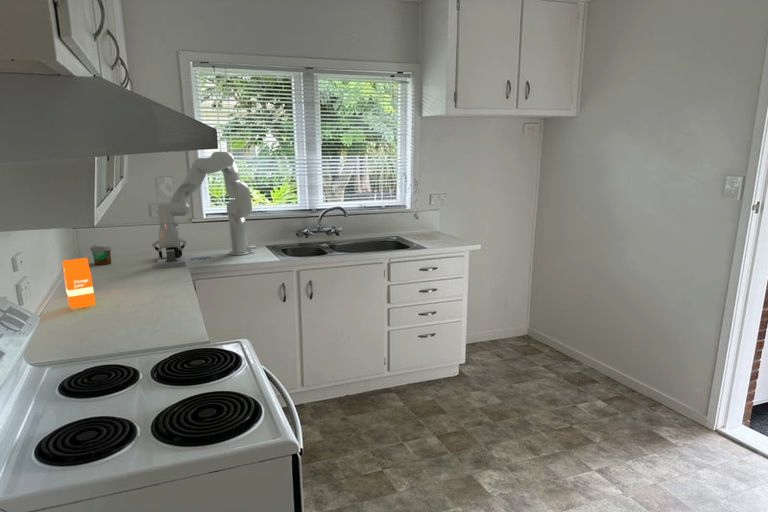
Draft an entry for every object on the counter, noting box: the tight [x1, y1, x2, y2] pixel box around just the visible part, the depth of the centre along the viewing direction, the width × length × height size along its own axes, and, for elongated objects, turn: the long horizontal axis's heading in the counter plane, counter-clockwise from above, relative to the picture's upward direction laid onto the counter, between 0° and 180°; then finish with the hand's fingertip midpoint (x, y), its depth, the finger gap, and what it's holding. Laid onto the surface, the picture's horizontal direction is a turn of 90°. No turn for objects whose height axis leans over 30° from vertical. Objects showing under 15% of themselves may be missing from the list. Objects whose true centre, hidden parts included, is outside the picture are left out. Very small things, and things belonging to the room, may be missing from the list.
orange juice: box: [62, 257, 96, 309], centre depth 206 cm, size 8×9×20 cm
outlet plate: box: [156, 257, 187, 269], centre depth 275 cm, size 14×10×2 cm
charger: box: [165, 249, 176, 262], centre depth 274 cm, size 4×4×8 cm
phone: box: [190, 255, 212, 261], centre depth 290 cm, size 11×6×1 cm, turn 112°
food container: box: [89, 244, 112, 266], centre depth 277 cm, size 12×6×10 cm, turn 68°
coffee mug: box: [165, 243, 181, 258], centre depth 293 cm, size 12×9×10 cm
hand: (171, 257), depth 274 cm, fingers open, 9 cm apart
